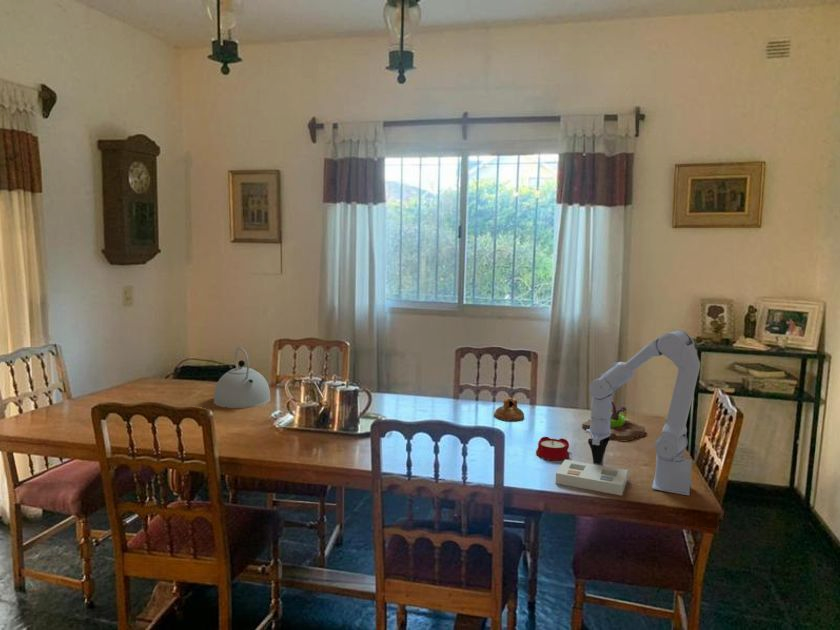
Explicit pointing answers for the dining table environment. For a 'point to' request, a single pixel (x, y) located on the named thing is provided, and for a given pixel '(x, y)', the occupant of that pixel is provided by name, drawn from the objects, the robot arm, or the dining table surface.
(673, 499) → the dining table surface
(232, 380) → the kettle
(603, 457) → the plug
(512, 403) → the brown pouch
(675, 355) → the robot arm
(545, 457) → the alarm clock
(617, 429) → the plant
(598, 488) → the socket block
